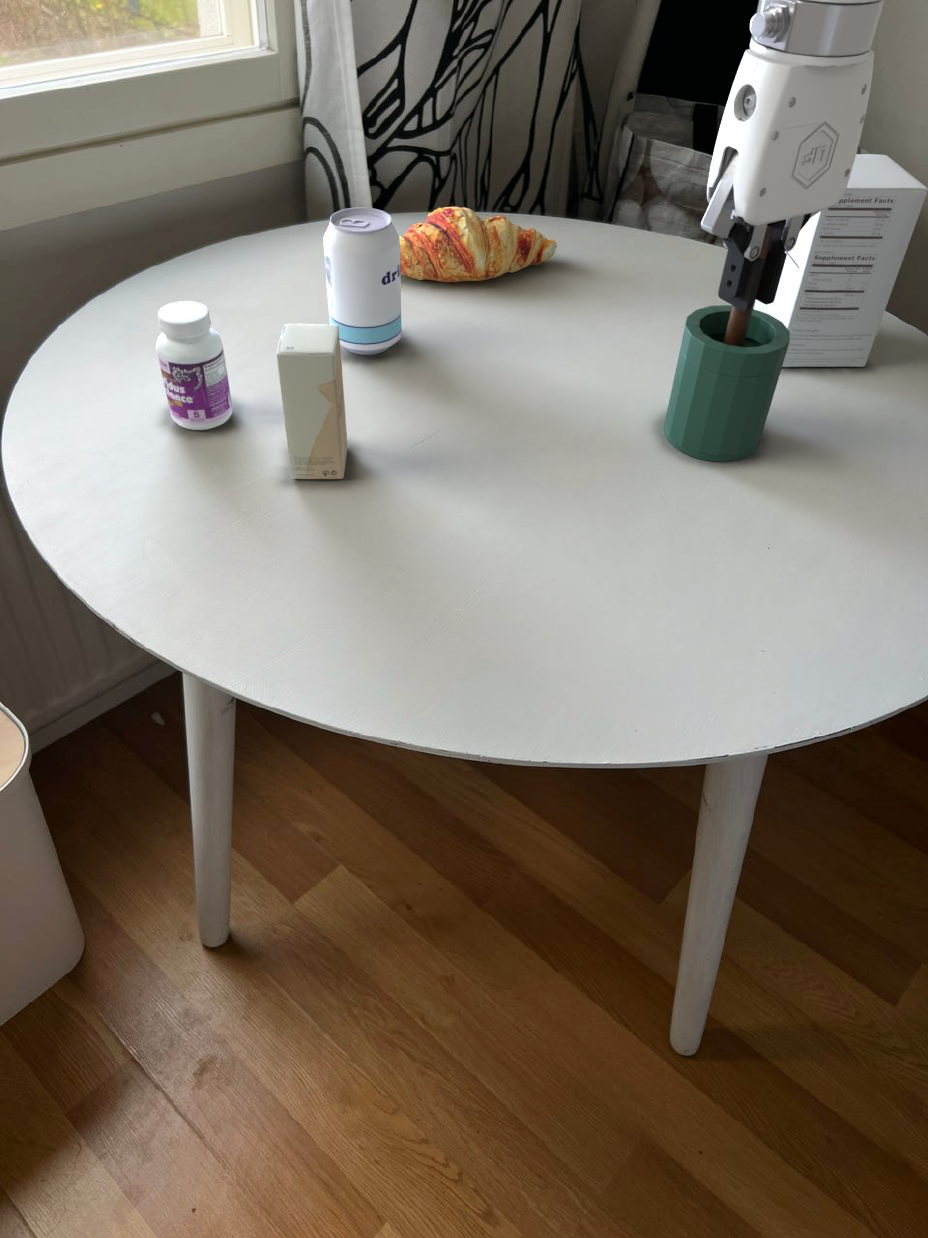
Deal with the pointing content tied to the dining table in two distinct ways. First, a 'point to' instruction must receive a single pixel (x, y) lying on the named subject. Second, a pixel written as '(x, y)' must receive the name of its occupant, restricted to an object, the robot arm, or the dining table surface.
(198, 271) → the dining table surface
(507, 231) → the croissant
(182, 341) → the pill bottle
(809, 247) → the supplement box
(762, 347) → the jar
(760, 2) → the robot arm
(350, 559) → the dining table surface
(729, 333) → the dowel with disc base
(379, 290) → the beverage can
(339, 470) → the box
